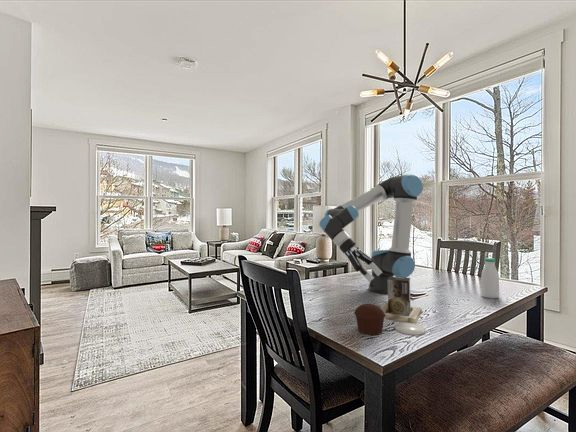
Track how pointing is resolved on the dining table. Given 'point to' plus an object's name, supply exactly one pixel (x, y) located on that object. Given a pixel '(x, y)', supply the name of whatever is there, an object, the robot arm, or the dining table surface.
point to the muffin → (369, 319)
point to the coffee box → (399, 296)
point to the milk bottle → (490, 279)
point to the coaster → (410, 328)
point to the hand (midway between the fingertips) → (376, 277)
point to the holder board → (411, 319)
